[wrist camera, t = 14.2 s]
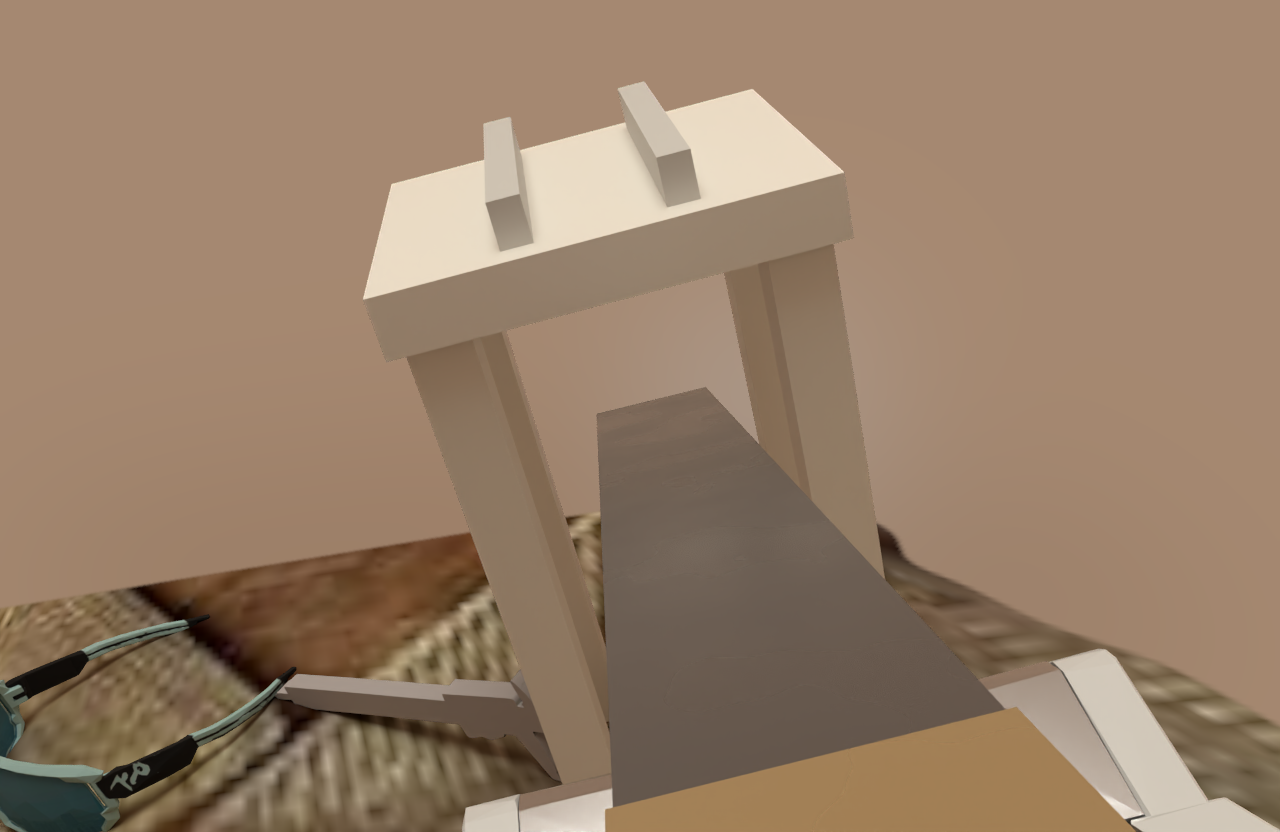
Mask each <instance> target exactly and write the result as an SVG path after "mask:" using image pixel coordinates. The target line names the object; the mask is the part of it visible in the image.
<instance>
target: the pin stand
mask: <svg viewBox="0 0 1280 832" xmlns="http://www.w3.org/2000/svg"><path fill="white" fill-rule="evenodd" d="M618 93H619V97H620V102H621V106H622V110H623V114H624V118H625V123H622V124H618V125H614V126H610V127H606V128H603V129H599V130H595V131H592V132H587V133H584V134H580V135H576V136H572V137H569V138H565V139H561V140H557V141H554V142H550V143H546V144H542V145H539V146H534V147H531V148H527V149H523V150H520V149H519V146H518V142H517V139H516V135H515V132H514V128H513V124H512V121H511V117H508V118H504V119H500V120H497V121H492V122H489V123H485V124H484V160H482V161H478V162H474V163H470V164H467V165H462V166H459V167H455V168H451V169H447V170H444V171H440V172H436V173H432V174H428V175H425V176H421V177H417V178H413V179H409V180H406V181H402V182H398V183H394V184H392V185H391V189H390V193H389V197H388V201H387V205H386V209H385V213H384V217H383V222H382V225H381V229H380V233H379V238H378V242H377V246H376V250H375V253H374V258H373V261H372V265H371V269H370V273H369V277H368V282H367V286H366V290H365V294H364V298H363V301H364V304H365V306H366V309H367V312H368V315H369V317H370V320H371V323H372V325H373V328H374V331H375V333H376V336H377V339H378V341H379V344H380V347H381V349H382V352H383V355H384V357H385V360H386V362H389V361H393V360H397V359H401V358H404V357H407V360H408V363H409V365H410V368H411V371H412V374H413V376H414V379H415V382H416V385H417V387H418V390H419V393H420V395H421V398H422V401H423V404H424V406H425V409H426V412H427V415H428V417H429V420H430V423H431V426H432V428H433V431H434V434H435V437H436V439H437V442H438V445H439V447H440V450H441V453H442V456H443V458H444V461H445V464H446V467H447V469H448V472H449V475H450V478H451V480H452V483H453V486H454V489H455V491H456V494H457V497H458V500H459V502H460V505H461V508H462V511H463V513H464V516H465V519H466V521H467V524H468V527H469V530H470V532H471V535H472V538H473V541H474V543H475V546H476V549H477V552H478V554H479V557H480V560H481V563H482V565H483V568H484V571H485V573H486V576H487V579H488V582H489V584H490V587H491V590H492V593H493V595H494V598H495V601H496V604H497V606H498V609H499V612H500V615H501V617H502V620H503V623H504V625H505V628H506V631H507V634H508V636H509V639H510V642H511V645H512V647H513V650H514V653H515V656H516V658H517V661H518V664H519V666H520V669H521V672H522V675H523V677H524V680H525V683H526V686H527V688H528V691H529V694H530V697H531V699H532V702H533V705H534V708H535V710H536V713H537V716H538V718H539V721H540V724H541V727H542V729H543V732H544V735H545V738H546V740H547V743H548V746H549V749H550V751H551V754H552V757H553V760H554V762H555V765H556V768H557V770H558V773H559V776H560V779H561V781H562V784H567V783H571V782H576V781H580V780H584V779H588V778H592V777H596V776H601V775H605V774H609V773H611V752H610V733H609V730H608V727H607V724H606V722H608V721H609V704H608V679H607V655H606V647H605V643H604V640H603V637H602V634H601V631H600V627H599V624H598V621H597V618H596V615H595V612H594V608H593V605H592V602H591V599H590V596H589V592H588V589H587V586H586V583H585V580H584V577H583V573H582V570H581V567H580V564H579V561H578V557H577V554H576V551H575V548H574V545H573V541H572V538H571V535H570V532H569V529H568V526H567V522H566V519H565V516H564V513H563V510H562V506H561V503H560V500H559V497H558V494H557V491H556V488H555V484H554V481H553V478H552V475H551V471H550V468H549V465H548V462H547V459H546V455H545V452H544V449H543V446H542V443H541V440H540V437H539V433H538V430H537V427H536V424H535V420H534V417H533V414H532V411H531V408H530V405H529V401H528V398H527V395H526V392H525V389H524V386H523V382H522V379H521V376H520V373H519V369H518V366H517V363H516V360H515V357H514V354H513V350H512V347H511V344H510V341H509V338H508V334H507V331H506V330H510V329H514V328H518V327H521V326H525V325H529V324H533V323H536V322H540V321H544V320H548V319H552V318H555V317H559V316H562V315H567V314H570V313H574V312H577V311H582V310H585V309H589V308H593V307H597V306H601V305H604V304H608V303H612V302H616V301H619V300H623V299H627V298H630V297H635V296H638V295H642V294H645V293H650V292H653V291H657V290H661V289H664V288H668V287H672V286H676V285H680V284H683V283H687V282H691V281H695V280H698V279H702V278H706V277H710V276H714V275H718V274H721V273H724V275H725V279H726V284H727V289H728V294H729V299H730V304H731V308H732V314H733V318H734V323H735V327H736V333H737V338H738V343H739V348H740V353H741V357H742V362H743V367H744V372H745V377H746V381H747V386H748V391H749V396H750V401H751V406H752V411H753V416H754V421H755V425H756V430H757V435H758V440H759V445H760V446H761V447H762V448H763V449H764V450H765V451H766V452H767V454H768V455H769V456H770V457H771V458H772V459H773V460H774V461H775V462H776V463H777V464H778V465H779V466H780V467H781V469H782V470H783V471H784V472H785V473H786V474H787V475H788V476H789V477H790V478H791V479H792V480H793V481H794V482H795V484H796V485H797V486H798V487H799V488H800V489H801V490H802V491H803V492H804V493H805V494H806V495H807V496H808V497H809V499H810V500H811V501H812V502H813V503H814V504H815V505H816V506H817V507H818V508H819V509H820V510H821V511H822V513H823V514H824V515H825V516H826V517H827V518H828V519H829V520H830V521H831V522H832V523H833V524H834V525H835V526H836V528H837V529H838V530H839V531H840V532H841V533H842V534H843V535H844V536H845V537H846V538H847V539H848V540H849V541H850V543H851V544H852V545H853V546H854V547H855V548H856V549H857V550H858V551H859V552H860V553H861V554H862V555H863V557H864V558H865V559H866V560H867V561H868V562H869V563H870V564H871V565H872V566H873V567H874V568H875V569H876V570H877V572H878V573H879V574H880V575H881V576H882V577H883V578H884V579H885V576H884V570H883V563H882V557H881V550H880V544H879V537H878V531H877V524H876V518H875V511H874V505H873V498H872V493H871V486H870V479H869V472H868V466H867V459H866V453H865V446H864V440H863V433H862V427H861V420H860V414H859V407H858V400H857V394H856V388H855V381H854V374H853V368H852V362H851V355H850V348H849V342H848V335H847V330H846V323H845V316H844V310H843V303H842V298H841V297H842V296H841V290H840V283H839V277H838V270H837V264H836V258H835V251H834V245H833V244H834V243H838V242H842V241H846V240H850V239H853V238H854V236H853V229H852V223H851V215H850V208H849V201H848V194H847V187H846V180H845V174H844V172H843V171H842V170H841V169H840V168H839V167H838V166H837V165H836V164H834V163H833V162H832V161H831V160H830V159H829V158H828V157H827V156H826V155H825V154H824V153H822V152H821V151H820V150H819V149H818V148H817V147H816V146H815V145H814V144H812V143H811V142H810V141H809V140H808V139H807V138H806V137H805V136H804V135H802V134H801V133H800V132H799V131H798V130H797V129H796V128H795V127H794V126H792V124H790V123H789V122H788V121H787V120H786V119H785V118H784V117H782V115H781V114H779V113H778V112H777V111H776V110H775V109H774V108H773V107H772V106H770V105H769V104H768V103H767V102H766V101H765V100H764V99H763V98H762V97H760V95H758V94H757V93H756V92H755V91H754V90H753V89H751V90H747V91H743V92H739V93H736V94H732V95H728V96H724V97H720V98H717V99H713V100H709V101H705V102H701V103H698V104H694V105H690V106H686V107H682V108H678V109H675V110H671V111H667V112H665V111H664V110H663V108H662V107H661V105H660V104H659V102H658V101H657V100H656V98H655V96H654V95H653V94H652V92H651V91H650V89H649V88H648V86H647V85H646V84H645V82H641V83H637V84H633V85H629V86H625V87H621V88H618Z"/></svg>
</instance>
